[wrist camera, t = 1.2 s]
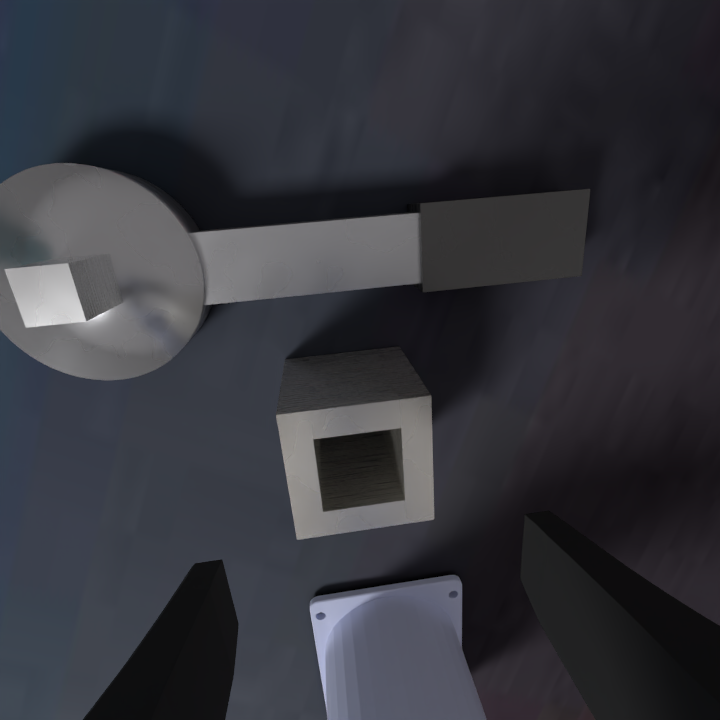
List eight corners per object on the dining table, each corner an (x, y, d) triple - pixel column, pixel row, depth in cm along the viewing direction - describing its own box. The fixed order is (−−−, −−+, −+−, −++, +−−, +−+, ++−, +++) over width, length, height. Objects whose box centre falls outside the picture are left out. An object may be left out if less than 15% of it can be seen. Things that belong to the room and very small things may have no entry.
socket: (404, 444, 19) (434, 519, 15) (299, 458, 19) (297, 539, 14) (399, 346, 18) (431, 395, 13) (284, 359, 17) (275, 414, 13)
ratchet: (548, 315, 18) (621, 347, 14) (49, 370, 17) (-39, 426, 12) (562, 133, 16) (655, 106, 12) (-21, 177, 14) (-161, 164, 10)
